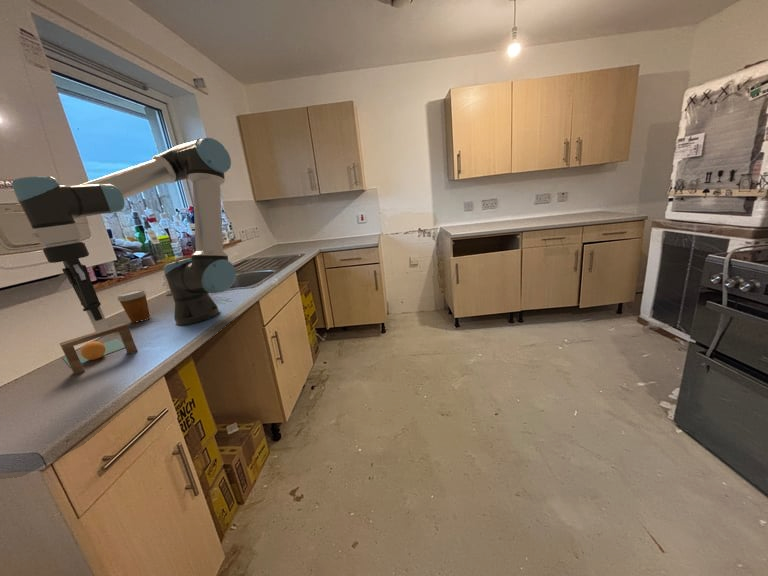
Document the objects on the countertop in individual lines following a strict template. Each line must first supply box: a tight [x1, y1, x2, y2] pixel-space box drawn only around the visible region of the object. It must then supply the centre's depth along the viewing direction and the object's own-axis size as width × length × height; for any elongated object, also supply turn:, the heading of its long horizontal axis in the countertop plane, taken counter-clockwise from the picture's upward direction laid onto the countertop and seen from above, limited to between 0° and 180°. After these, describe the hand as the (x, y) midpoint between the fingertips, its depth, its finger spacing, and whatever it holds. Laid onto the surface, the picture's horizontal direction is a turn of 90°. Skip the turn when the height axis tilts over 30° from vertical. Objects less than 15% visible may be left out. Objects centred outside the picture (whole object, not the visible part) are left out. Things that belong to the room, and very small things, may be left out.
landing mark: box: [62, 338, 125, 367], centre depth 100 cm, size 14×14×1 cm
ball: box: [80, 340, 106, 361], centre depth 94 cm, size 6×6×6 cm
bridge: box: [59, 322, 138, 376], centre depth 91 cm, size 3×14×9 cm, turn 143°
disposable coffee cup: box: [116, 288, 151, 323], centre depth 127 cm, size 10×10×12 cm
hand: (103, 330), depth 83 cm, fingers closed
